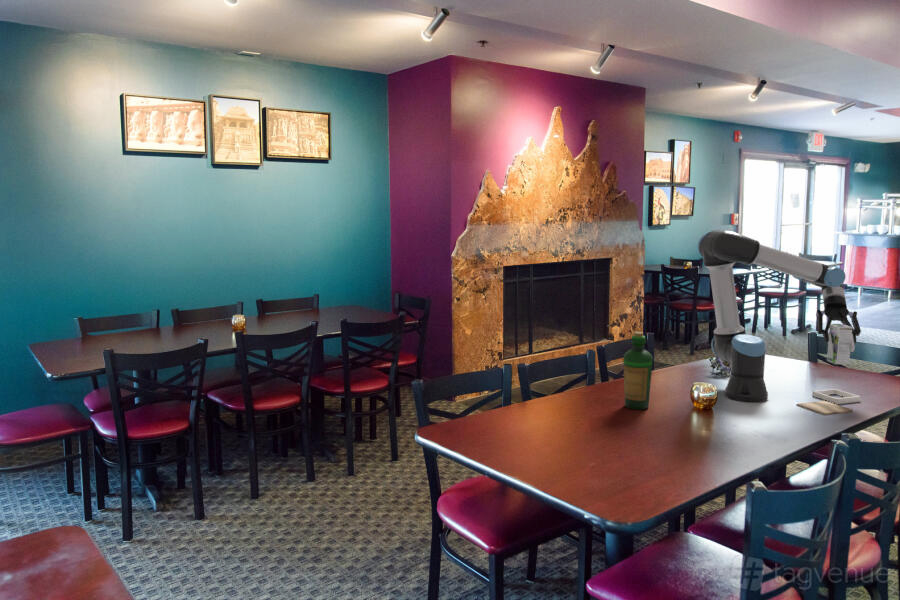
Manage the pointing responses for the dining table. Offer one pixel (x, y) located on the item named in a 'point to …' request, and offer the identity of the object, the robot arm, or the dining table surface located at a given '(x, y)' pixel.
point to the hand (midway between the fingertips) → (841, 349)
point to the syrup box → (840, 344)
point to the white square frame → (847, 398)
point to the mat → (825, 407)
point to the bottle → (637, 374)
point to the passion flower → (720, 365)
